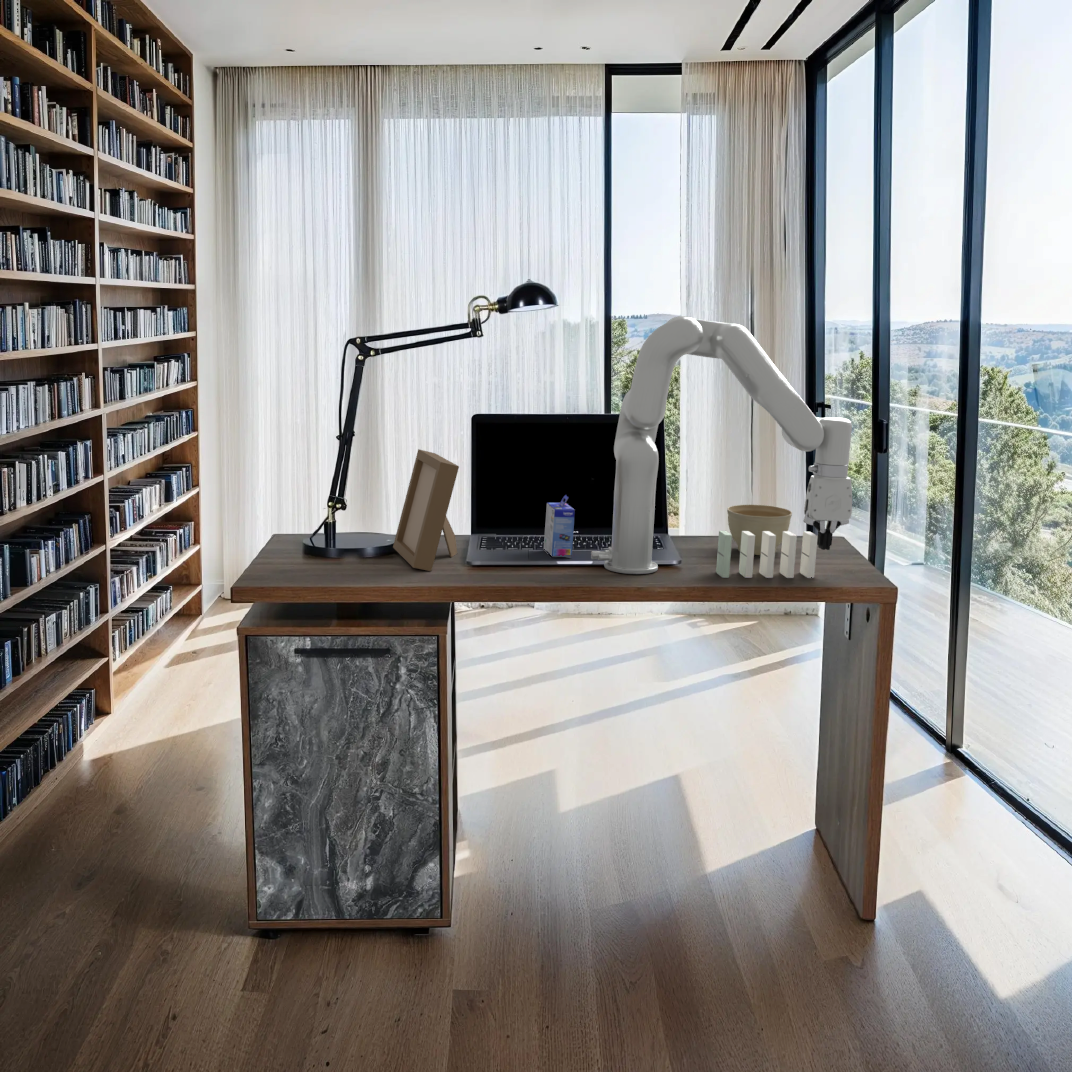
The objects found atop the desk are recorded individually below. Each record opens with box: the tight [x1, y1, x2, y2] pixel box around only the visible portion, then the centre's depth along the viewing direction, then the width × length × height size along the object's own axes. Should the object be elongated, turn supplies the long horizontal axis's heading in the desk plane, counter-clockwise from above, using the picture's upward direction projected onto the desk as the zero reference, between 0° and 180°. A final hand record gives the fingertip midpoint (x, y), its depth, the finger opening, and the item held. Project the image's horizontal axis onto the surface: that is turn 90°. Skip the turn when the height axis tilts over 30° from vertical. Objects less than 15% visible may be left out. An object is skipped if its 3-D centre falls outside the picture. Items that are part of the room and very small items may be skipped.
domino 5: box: [799, 530, 818, 579], centre depth 266 cm, size 2×5×10 cm, turn 8°
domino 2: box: [738, 531, 755, 579], centre depth 264 cm, size 2×5×10 cm, turn 8°
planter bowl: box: [727, 504, 793, 556], centre depth 290 cm, size 16×16×11 cm
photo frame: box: [392, 448, 460, 572], centre depth 267 cm, size 15×22×25 cm
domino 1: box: [715, 530, 733, 579], centre depth 264 cm, size 2×5×10 cm, turn 8°
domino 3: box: [759, 531, 776, 579], centre depth 265 cm, size 2×5×10 cm, turn 8°
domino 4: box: [779, 530, 798, 579], centre depth 266 cm, size 2×5×10 cm, turn 8°
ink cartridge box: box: [543, 494, 576, 556], centre depth 279 cm, size 10×6×14 cm, turn 11°
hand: (823, 548), depth 267 cm, fingers closed
